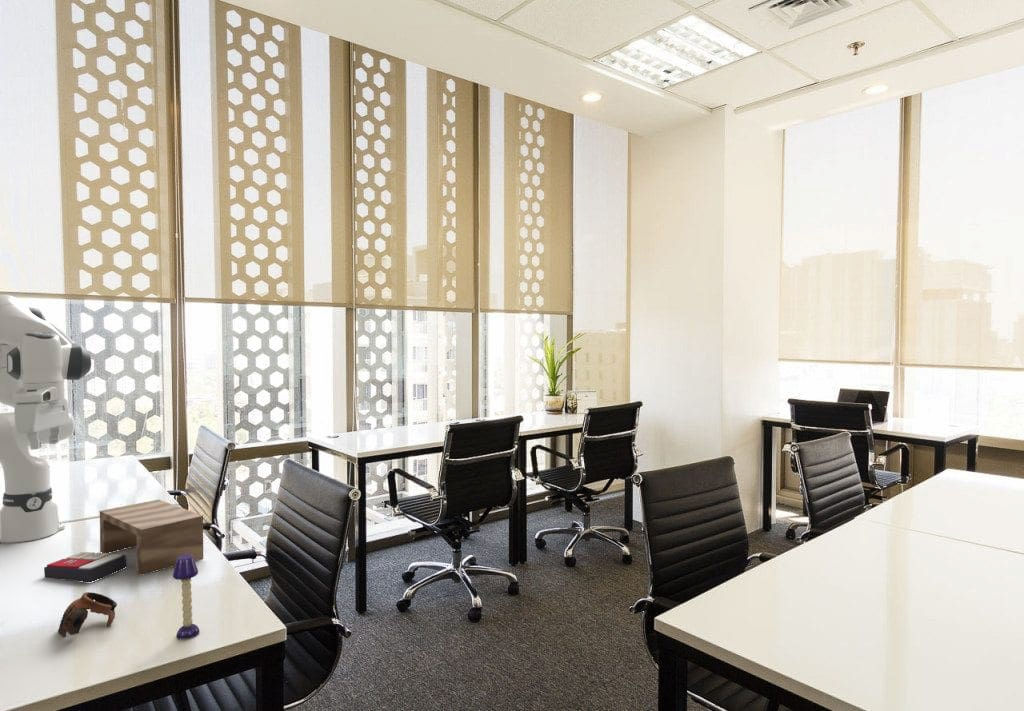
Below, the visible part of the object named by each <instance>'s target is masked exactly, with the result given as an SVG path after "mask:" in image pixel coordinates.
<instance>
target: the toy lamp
mask: <svg viewBox="0 0 1024 711" xmlns="http://www.w3.org/2000/svg"><path fill="white" fill-rule="evenodd" d="M198 574H199V569H198V566H197V563H196V560H194V557H193V556H192V555H189V554H187V555H182V556H179V557H178V558H177V560H176V564H175V566H174V569H173V574H172V577H173V578H172V579H174V580H177V581H181V583H182V584H181V590H182V592H181V597H182V600H181V602H182V607H181V609H182V620H183V621H182V626H180V628H179V629H178V630H177V632H176V638H178V639H179V640H186V639H187V638H188V639H192V638H193V637H196V636H197V635H199V634H200V632H201V631H200V627H199V626H198V625H197V624H195V623H193V618H192V617H193V611H192V610H193V605H192V602H193V598H192V583H191V581H192V578H194V577H196V576H197V575H198ZM191 637H192V638H191ZM188 639H187V640H188Z"/></svg>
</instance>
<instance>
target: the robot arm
mask: <svg viewBox="0 0 1024 711" xmlns="http://www.w3.org/2000/svg"><path fill="white" fill-rule="evenodd" d="M91 368H92V358H91V355H90V353H89V351H88V350H87V349H86V348H85V347H84V346H83V345H81V344H79V343H76V342H75V341H74V340H73V339H72V338H70V336H68V335H67V334H66V333H65V332H64V331H63V330H61V328H59V327H58V326H57V325H55V324H53V323H51V322H48V319H47V317H46V315H45V314H44V312H43V311H42V310H41V309H40V308H35V307H28V306H27V305H26V304H25V303H24V302H23V300H20V298H17V297H15V296H13V295H10V294H0V403H1V404H3V405H4V406H5V405H6V406H9V407H11V408H13V409H14V411H13V412H11V411H10V412H3V413H0V465H1V467H2V470H3V477H4V478H3V479H4V493H3V494H2V506H1V509H0V542H1V543H21V542H28V541H34V540H38V539H43V538H47V537H50V536H52V535H54V534H56V533H57V532H59V531H61V530H64V529H65V528H66V527H65V524H62V523H60V517H59V507H58V504H57V503H56V502H54V501H52V499H53V487H51V471H50V470H51V468H50V464H49V462H47V461H46V460H45V459H43V458H41V457H37V456H33V455H31V454H30V451H29V448H30V449H31V450H32V451H33V450H39V449H41V448H42V446H43V445H47V444H49V445H55V444H59V442H60V441H63V440H67V439H69V438H70V437H71V436H72V435H73V434H74V432H75V428H76V421H75V418H74V416H73V414H72V413H70V411H69V405H68V400H67V399H66V398H65V381H64V380H67V381H68V380H69V381H79V380H81V379H82V378H84V377H85V376H86V375H87V374H88V373H89V372H90V371H91Z"/></svg>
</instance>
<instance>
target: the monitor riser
mask: <svg viewBox="0 0 1024 711" xmlns="http://www.w3.org/2000/svg"><path fill="white" fill-rule="evenodd" d="M134 546H136V573H137V574H139V575H140V574H141V576H144V575H143V574H145V575H147V573H148V574H151V573H150V572H152V573H154V572H153V571H155V572H157V571H156V570H159V571H161V570H160V569H162V570H164V569H163V568H166V569H169V568H172V567H171V566H173V567H175V564H176V560H177V558H178V557H179V556H182V555H187V554H189V555H192V556H193V557H194V560H195V561H197V559H198V560H201V559H204V515H202V514H199V513H196V512H194V511H191V510H188V509H186V508H183V507H180V506H178V505H175V504H172V503H169V502H166V501H164V500H161V499H155V500H154V499H153V500H149V501H144V502H140V503H132V504H128V505H124V506H118V507H113V508H108V509H102V510H99V547H100V548H99V553H101V552H102V553H109V552H112V553H114V552H113V551H116V552H118V551H117V550H120V551H122V550H121V549H124V548H128V549H130V548H129V547H132V548H135V547H134ZM124 550H125V549H124ZM168 567H169V568H168Z"/></svg>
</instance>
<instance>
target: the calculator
mask: <svg viewBox="0 0 1024 711" xmlns="http://www.w3.org/2000/svg"><path fill="white" fill-rule="evenodd" d="M125 567H127V555H126V554H121V553H120V554H119V553H112V554H111V553H101V552H91V551H90V552H89V551H81V552H79V553H75V554H72V555H69V556H67V557H65V558H61V559H59V560H57V561H54V562H51V563H49V564H46V566H45V567H44V568H43V573H44V578H45V579H51V578H53V579H54V580H60V579H65V580H64V581H75V582H77V581H83V582H82V583H84V582H92V581H95V580H97V579H100V578H102V579H104V578H106V577H105V576H107V577H109V576H111V575H113V574H112V573H114V572H116V571H118V572H120V571H119V570H121V569H123V568H125ZM125 569H126V568H125ZM123 570H124V569H123ZM121 571H122V570H121ZM116 573H117V572H116ZM110 574H111V575H110ZM114 574H115V573H114ZM108 575H109V576H108ZM103 577H104V578H103ZM53 579H52V580H53ZM100 580H101V579H100ZM97 581H98V580H97ZM95 582H96V581H95Z"/></svg>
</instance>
